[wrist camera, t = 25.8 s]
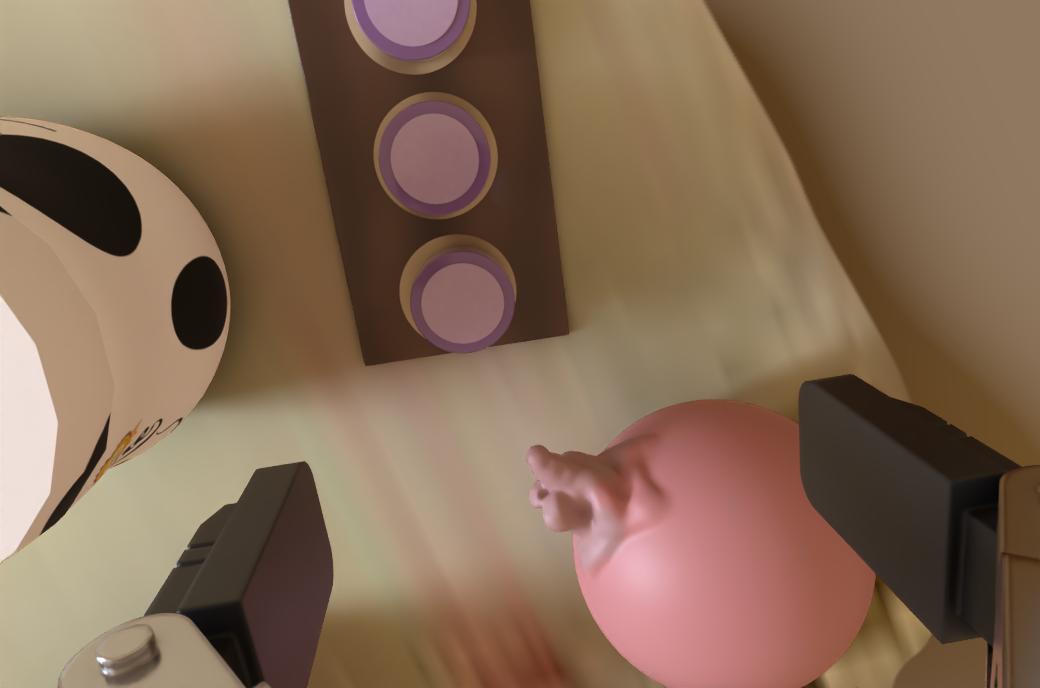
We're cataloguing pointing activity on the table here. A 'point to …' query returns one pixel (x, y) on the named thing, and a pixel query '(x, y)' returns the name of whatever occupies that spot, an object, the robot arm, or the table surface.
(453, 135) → the dish bottom
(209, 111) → the table surface
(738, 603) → the pink piggy bank
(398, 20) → the purple stepped cylinder
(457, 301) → the dish top
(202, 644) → the robot arm
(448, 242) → the brown board with circles
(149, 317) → the white black spotted canister
